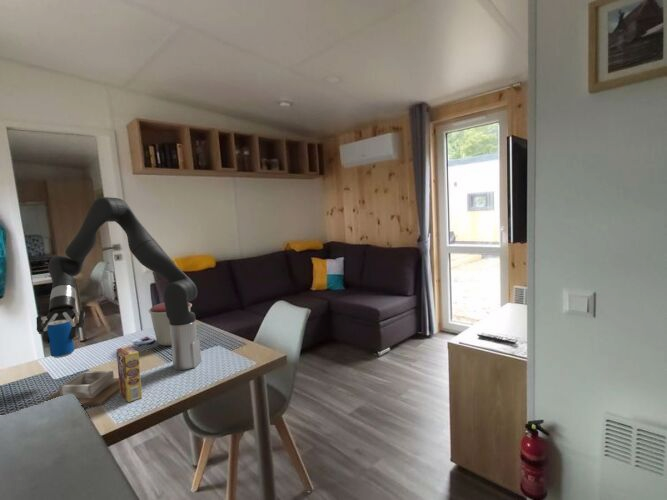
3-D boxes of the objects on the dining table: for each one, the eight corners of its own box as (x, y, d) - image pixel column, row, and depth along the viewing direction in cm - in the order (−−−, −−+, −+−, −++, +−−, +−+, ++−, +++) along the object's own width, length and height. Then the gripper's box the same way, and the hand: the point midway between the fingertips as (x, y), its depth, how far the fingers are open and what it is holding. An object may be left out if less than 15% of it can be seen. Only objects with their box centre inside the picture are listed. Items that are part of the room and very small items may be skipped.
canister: (156, 338, 164) (152, 295, 162) (196, 332, 169) (192, 291, 167) (147, 351, 147) (143, 304, 144) (192, 345, 152) (188, 299, 150)
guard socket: (133, 380, 120) (131, 366, 120) (101, 405, 104) (99, 390, 104) (78, 381, 121) (76, 368, 120) (38, 407, 105) (36, 391, 104)
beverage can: (71, 349, 124) (67, 318, 123) (76, 353, 120) (72, 321, 119) (49, 356, 119) (44, 323, 118) (53, 360, 115) (48, 326, 114)
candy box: (143, 397, 108) (138, 351, 107) (128, 403, 105) (123, 356, 104) (134, 388, 114) (129, 345, 113) (119, 393, 111) (115, 349, 110)
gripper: (35, 297, 121) (29, 339, 111) (84, 291, 127) (83, 330, 118) (41, 309, 126) (36, 350, 117) (88, 302, 133) (87, 340, 123)
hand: (59, 340), depth 118 cm, fingers closed on beverage can, 6 cm apart
